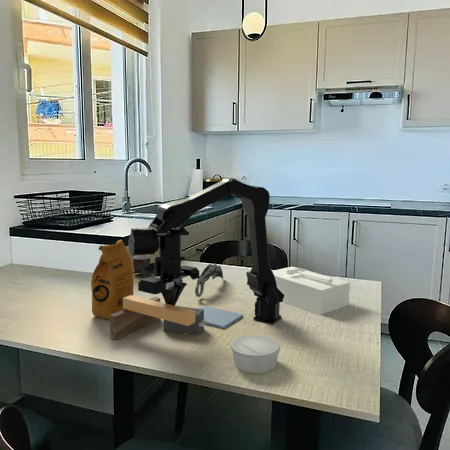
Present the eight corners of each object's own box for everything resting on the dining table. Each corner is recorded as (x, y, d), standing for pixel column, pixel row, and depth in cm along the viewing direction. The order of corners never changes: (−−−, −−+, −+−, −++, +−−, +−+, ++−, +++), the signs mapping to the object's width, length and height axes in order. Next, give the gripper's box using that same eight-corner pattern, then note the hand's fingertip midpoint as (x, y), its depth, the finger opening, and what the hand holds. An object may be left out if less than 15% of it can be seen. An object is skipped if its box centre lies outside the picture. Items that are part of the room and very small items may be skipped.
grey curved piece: (221, 279, 170) (221, 255, 169) (225, 280, 170) (225, 255, 168) (194, 302, 143) (194, 273, 142) (198, 302, 143) (198, 273, 141)
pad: (242, 317, 129) (242, 314, 129) (223, 329, 120) (223, 326, 120) (204, 308, 137) (204, 305, 137) (183, 319, 127) (183, 316, 127)
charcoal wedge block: (207, 330, 120) (207, 309, 119) (201, 337, 115) (201, 316, 114) (171, 325, 123) (171, 305, 123) (163, 331, 119) (163, 311, 118)
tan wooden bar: (195, 322, 108) (195, 310, 107) (188, 326, 105) (188, 314, 105) (130, 305, 119) (130, 295, 119) (122, 308, 117) (122, 297, 116)
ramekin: (223, 372, 97) (224, 350, 96) (239, 351, 107) (240, 331, 106) (272, 381, 93) (272, 359, 92) (283, 359, 103) (284, 338, 102)
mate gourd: (134, 270, 180) (133, 235, 178) (153, 270, 181) (152, 235, 179) (132, 275, 173) (131, 239, 171) (152, 275, 174) (151, 239, 172)
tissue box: (291, 288, 160) (292, 260, 158) (348, 307, 140) (350, 275, 139) (263, 296, 151) (264, 266, 149) (320, 317, 131) (322, 283, 130)
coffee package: (86, 316, 128) (83, 245, 125) (112, 304, 140) (111, 237, 136) (113, 322, 125) (111, 248, 121) (138, 308, 136) (137, 240, 132)
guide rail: (160, 318, 128) (160, 297, 127) (115, 340, 112) (115, 316, 111) (155, 317, 129) (155, 296, 128) (110, 338, 114) (109, 314, 113)
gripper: (169, 243, 123) (169, 295, 125) (121, 255, 107) (122, 314, 110) (200, 248, 117) (200, 302, 120) (155, 261, 102) (155, 323, 104)
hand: (170, 310), depth 113 cm, fingers closed
